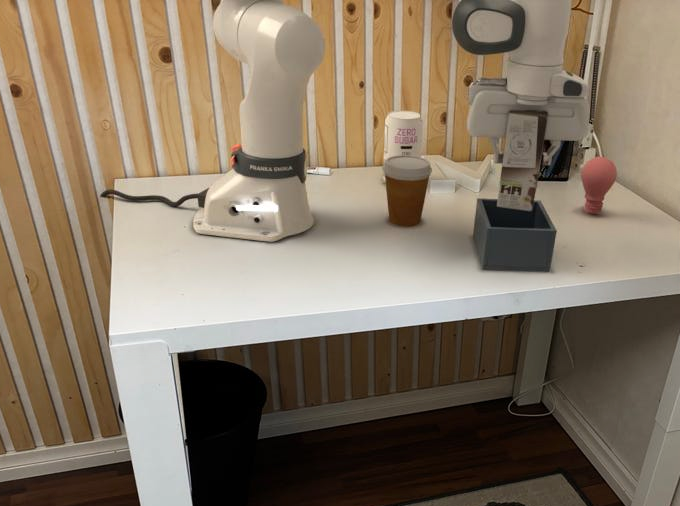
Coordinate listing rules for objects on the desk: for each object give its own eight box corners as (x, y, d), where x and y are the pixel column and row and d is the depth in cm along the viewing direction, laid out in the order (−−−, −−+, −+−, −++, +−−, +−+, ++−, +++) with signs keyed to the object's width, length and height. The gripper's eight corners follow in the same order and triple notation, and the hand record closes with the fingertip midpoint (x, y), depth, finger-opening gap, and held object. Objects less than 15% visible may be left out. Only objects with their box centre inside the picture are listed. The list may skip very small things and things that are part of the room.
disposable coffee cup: (371, 219, 146) (372, 160, 139) (405, 209, 152) (407, 151, 145) (404, 234, 140) (407, 173, 134) (438, 223, 146) (442, 163, 140)
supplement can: (403, 174, 170) (406, 108, 162) (426, 184, 165) (431, 116, 157) (375, 180, 166) (377, 112, 158) (398, 191, 161) (401, 121, 153)
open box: (482, 269, 129) (487, 228, 125) (472, 236, 141) (477, 198, 137) (549, 271, 130) (556, 230, 126) (534, 238, 142) (540, 200, 138)
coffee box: (532, 212, 126) (547, 116, 117) (495, 207, 127) (507, 112, 118) (536, 194, 134) (550, 103, 125) (501, 189, 134) (512, 99, 126)
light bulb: (573, 217, 153) (583, 160, 147) (575, 205, 159) (585, 150, 153) (608, 221, 152) (619, 164, 146) (608, 209, 158) (620, 154, 152)
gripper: (471, 81, 116) (464, 167, 123) (598, 87, 117) (583, 171, 125) (467, 72, 121) (460, 155, 129) (589, 78, 122) (574, 159, 130)
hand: (521, 163), depth 127 cm, fingers closed on coffee box, 7 cm apart
